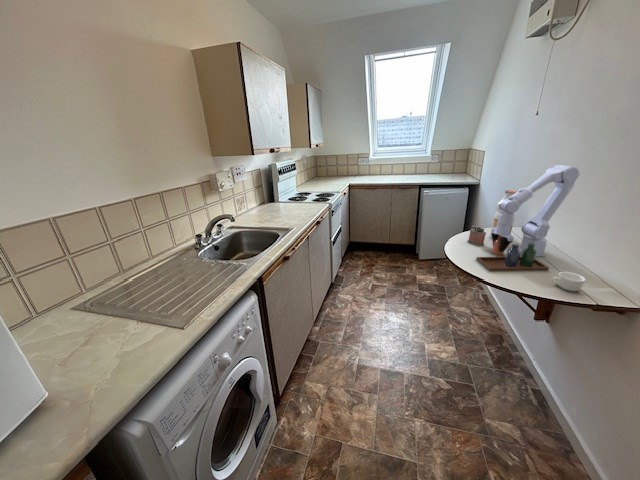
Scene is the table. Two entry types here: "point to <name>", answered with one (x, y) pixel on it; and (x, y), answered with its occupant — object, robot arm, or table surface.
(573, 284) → the teacup
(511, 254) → the slate-blue bottle
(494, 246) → the terracotta bottle
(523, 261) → the green bottle
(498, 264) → the tray
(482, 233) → the lighter
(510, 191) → the fruit juice
